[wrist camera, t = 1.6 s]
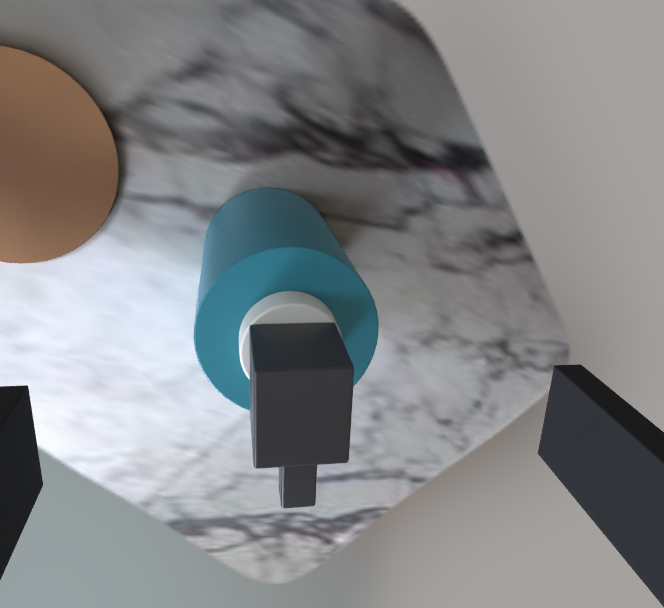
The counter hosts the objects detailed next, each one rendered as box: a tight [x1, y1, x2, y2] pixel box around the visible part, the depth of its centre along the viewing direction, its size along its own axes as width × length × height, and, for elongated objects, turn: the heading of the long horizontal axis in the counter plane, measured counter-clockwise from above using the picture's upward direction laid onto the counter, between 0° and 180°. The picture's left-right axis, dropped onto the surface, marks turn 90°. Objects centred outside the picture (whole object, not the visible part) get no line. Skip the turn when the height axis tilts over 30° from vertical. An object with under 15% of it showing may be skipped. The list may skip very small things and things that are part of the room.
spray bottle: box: [194, 188, 378, 508], centre depth 22 cm, size 7×6×14 cm
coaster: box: [0, 46, 119, 263], centre depth 25 cm, size 9×9×1 cm
